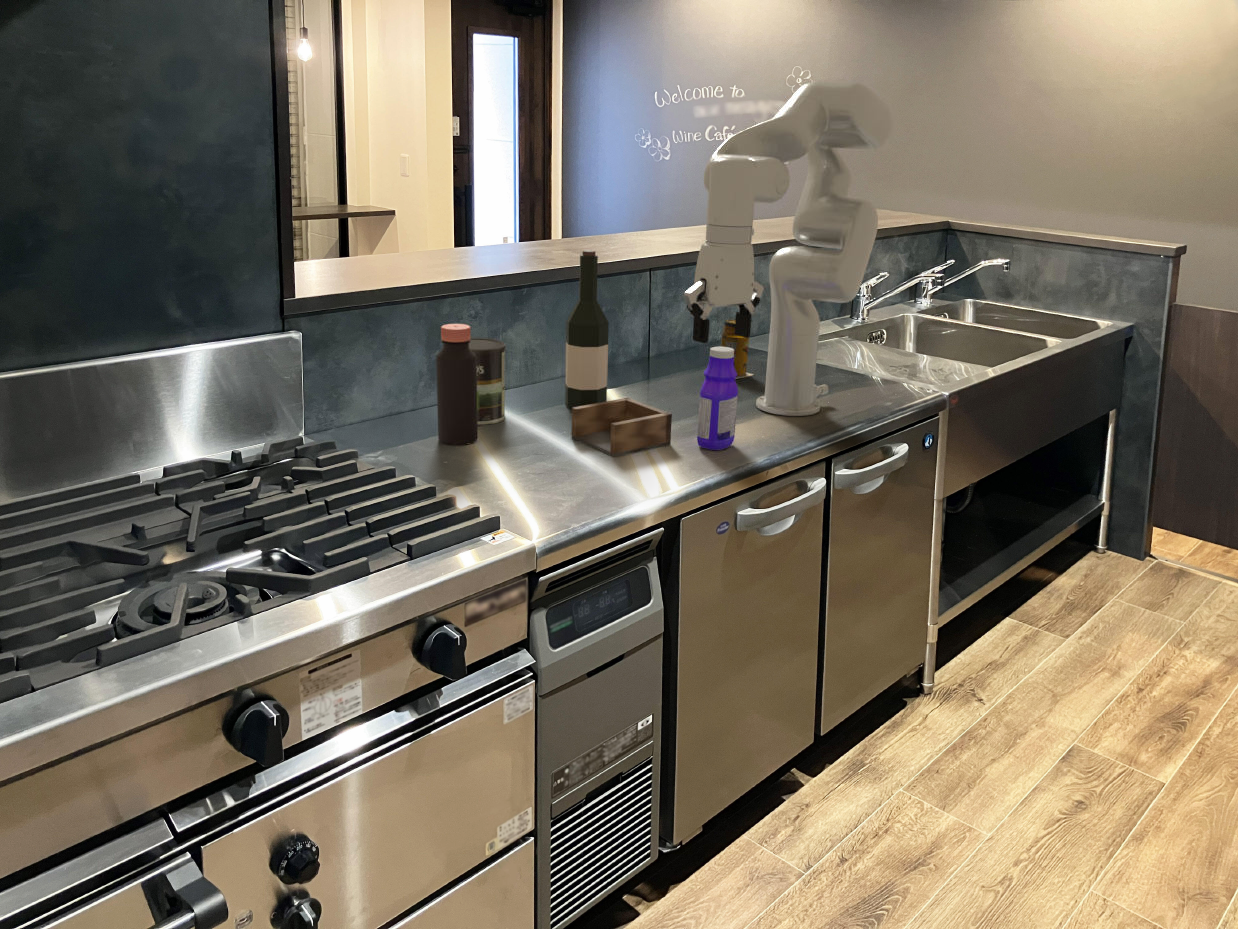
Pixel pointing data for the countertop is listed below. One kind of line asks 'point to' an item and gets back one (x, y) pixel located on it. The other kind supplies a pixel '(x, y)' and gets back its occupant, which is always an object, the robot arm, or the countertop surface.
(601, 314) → the wine bottle
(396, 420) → the countertop surface
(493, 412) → the coffee can
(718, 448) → the bottle
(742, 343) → the condiment
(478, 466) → the countertop surface
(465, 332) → the vinegar
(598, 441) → the u rest
